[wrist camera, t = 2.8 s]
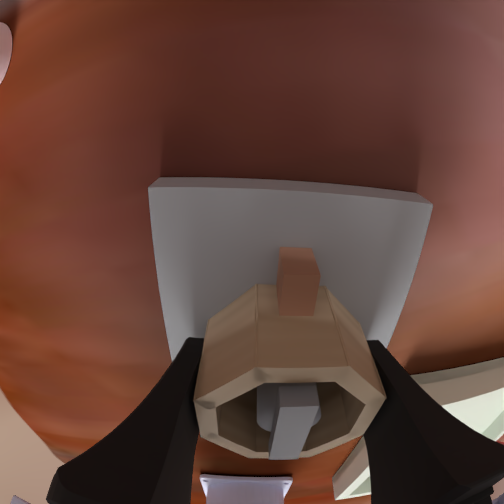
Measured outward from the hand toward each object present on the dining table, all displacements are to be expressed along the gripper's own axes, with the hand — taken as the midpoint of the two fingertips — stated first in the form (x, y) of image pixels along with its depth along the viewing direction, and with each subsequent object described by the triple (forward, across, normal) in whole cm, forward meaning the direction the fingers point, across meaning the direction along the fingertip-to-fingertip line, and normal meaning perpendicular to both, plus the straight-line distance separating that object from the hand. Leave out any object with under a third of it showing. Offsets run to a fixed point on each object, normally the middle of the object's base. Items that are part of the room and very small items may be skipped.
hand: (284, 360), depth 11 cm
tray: (+2, -15, +12) cm, 19 cm away
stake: (+2, 0, -1) cm, 3 cm away
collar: (+1, 0, 0) cm, 1 cm away
